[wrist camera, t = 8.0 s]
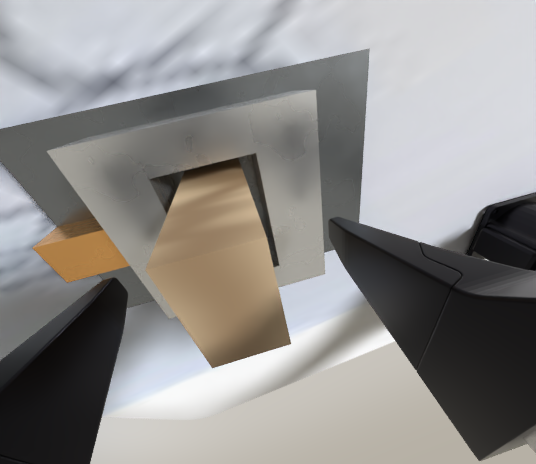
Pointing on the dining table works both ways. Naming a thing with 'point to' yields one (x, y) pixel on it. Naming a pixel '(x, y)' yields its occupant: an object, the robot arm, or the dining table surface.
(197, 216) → the oak wedge
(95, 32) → the dining table surface
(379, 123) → the dining table surface
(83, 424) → the robot arm
